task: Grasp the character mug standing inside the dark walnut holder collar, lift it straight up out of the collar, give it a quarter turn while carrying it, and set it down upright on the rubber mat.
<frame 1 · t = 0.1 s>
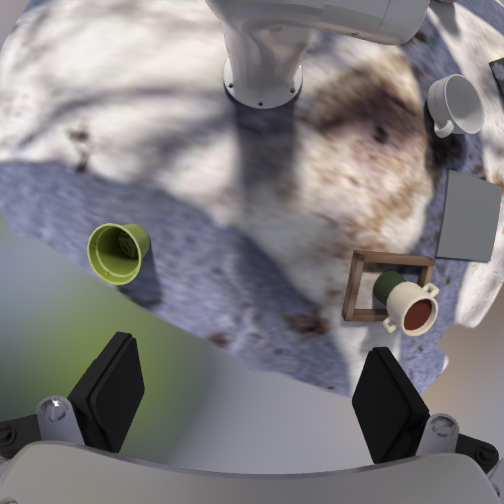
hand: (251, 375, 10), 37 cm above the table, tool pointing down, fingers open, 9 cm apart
holder collar: (387, 285, 49), on the table
plant pot: (134, 240, 47), on the table
character mug: (386, 284, 49), resting in holder collar
rubber mat: (472, 218, 45), on the table
teacup: (437, 113, 40), on the table
chalk box: (503, 77, 35), on the table
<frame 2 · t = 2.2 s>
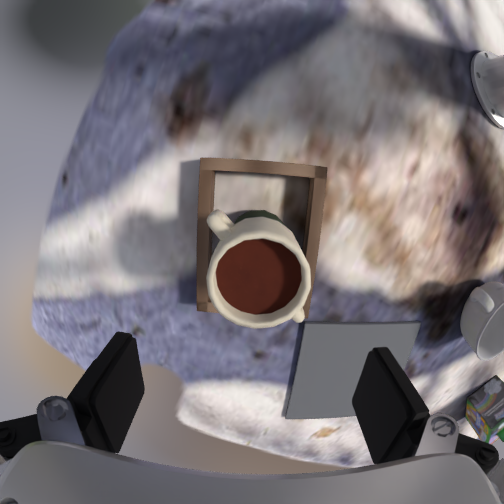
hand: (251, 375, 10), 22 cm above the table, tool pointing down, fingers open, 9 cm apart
holder collar: (258, 237, 31), on the table
character mug: (258, 237, 31), resting in holder collar
rubber mat: (351, 375, 37), on the table
teacup: (472, 300, 34), on the table
chalk box: (480, 395, 40), on the table
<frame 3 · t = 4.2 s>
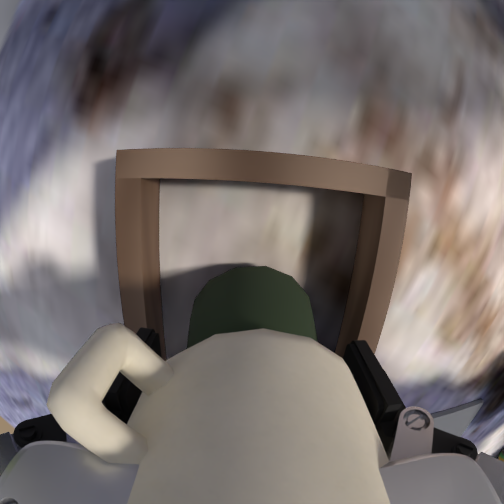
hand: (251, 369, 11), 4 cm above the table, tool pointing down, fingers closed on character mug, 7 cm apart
holder collar: (253, 316, 15), on the table
character mug: (252, 315, 15), resting in holder collar, touching gripper
rubber mat: (383, 469, 20), on the table
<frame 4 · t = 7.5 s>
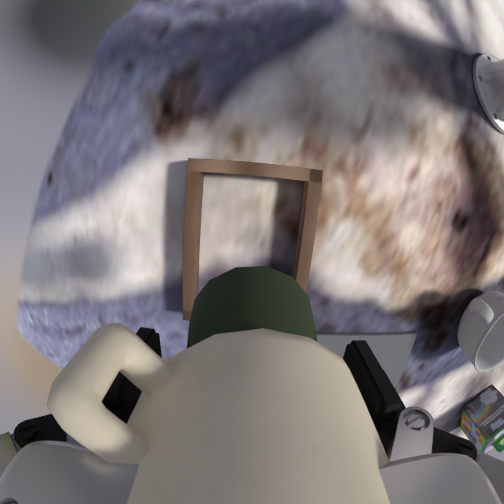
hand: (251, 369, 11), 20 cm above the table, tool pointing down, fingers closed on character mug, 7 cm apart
holder collar: (248, 243, 30), on the table
character mug: (252, 314, 15), point 15 cm above the table, touching gripper
rubber mat: (344, 386, 35), on the table
teacup: (470, 310, 33), on the table
chalk box: (476, 405, 40), on the table
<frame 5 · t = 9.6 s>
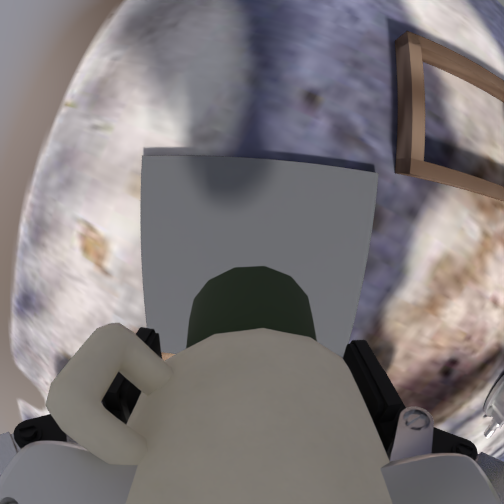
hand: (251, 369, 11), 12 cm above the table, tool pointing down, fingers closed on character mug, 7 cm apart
holder collar: (467, 126, 19), on the table
character mug: (251, 314, 15), point 8 cm above the table, touching gripper
rubber mat: (253, 269, 23), on the table
when the fingers open (6 cm above the table, at t = 11.2 s): character mug drops 1 cm, resting on rubber mat.
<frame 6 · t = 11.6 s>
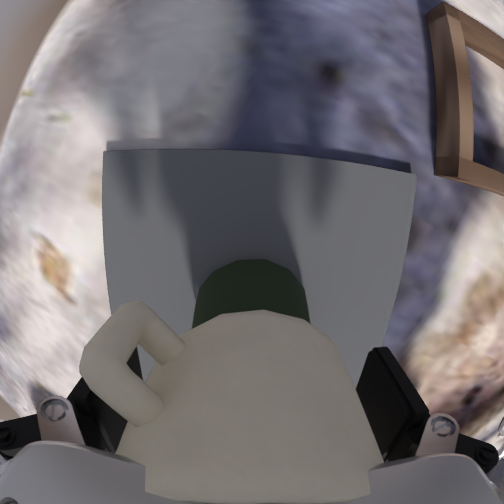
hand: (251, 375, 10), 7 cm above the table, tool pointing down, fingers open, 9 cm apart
character mug: (251, 304, 16), resting on rubber mat
rubber mat: (252, 301, 17), on the table
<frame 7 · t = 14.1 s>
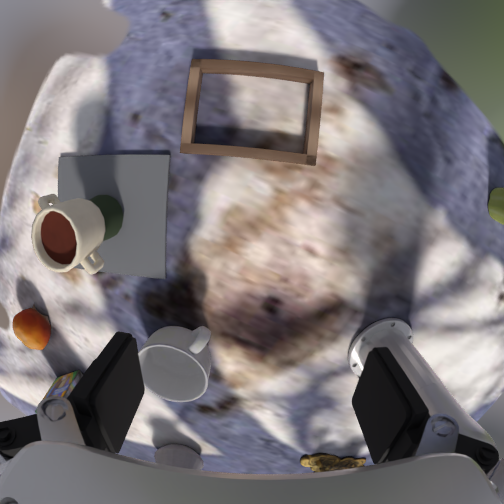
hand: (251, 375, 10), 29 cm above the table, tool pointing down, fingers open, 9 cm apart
holder collar: (252, 111, 33), on the table
plant pot: (495, 203, 37), on the table
coffee pot: (192, 445, 52), on the table
character mug: (106, 215, 36), resting on rubber mat
fruit: (40, 320, 42), on the table
rubber mat: (108, 215, 37), on the table
teacup: (186, 339, 43), on the table
figurine: (333, 464, 57), on the table
chalk box: (81, 388, 47), on the table
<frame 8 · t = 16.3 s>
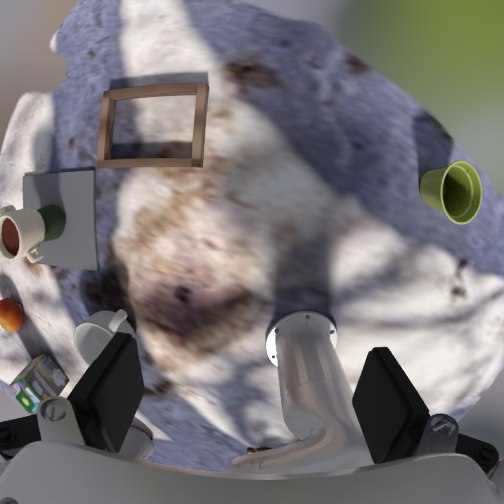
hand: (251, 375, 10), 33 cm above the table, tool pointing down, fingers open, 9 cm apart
holder collar: (152, 127, 38), on the table
plant pot: (431, 187, 41), on the table
coffee pot: (143, 428, 56), on the table
character mug: (55, 220, 42), resting on rubber mat
fruit: (17, 309, 48), on the table
rubber mat: (56, 220, 42), on the table
teacup: (120, 324, 48), on the table
chalk box: (50, 369, 52), on the table
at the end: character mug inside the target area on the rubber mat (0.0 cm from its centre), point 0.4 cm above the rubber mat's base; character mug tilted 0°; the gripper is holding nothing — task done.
